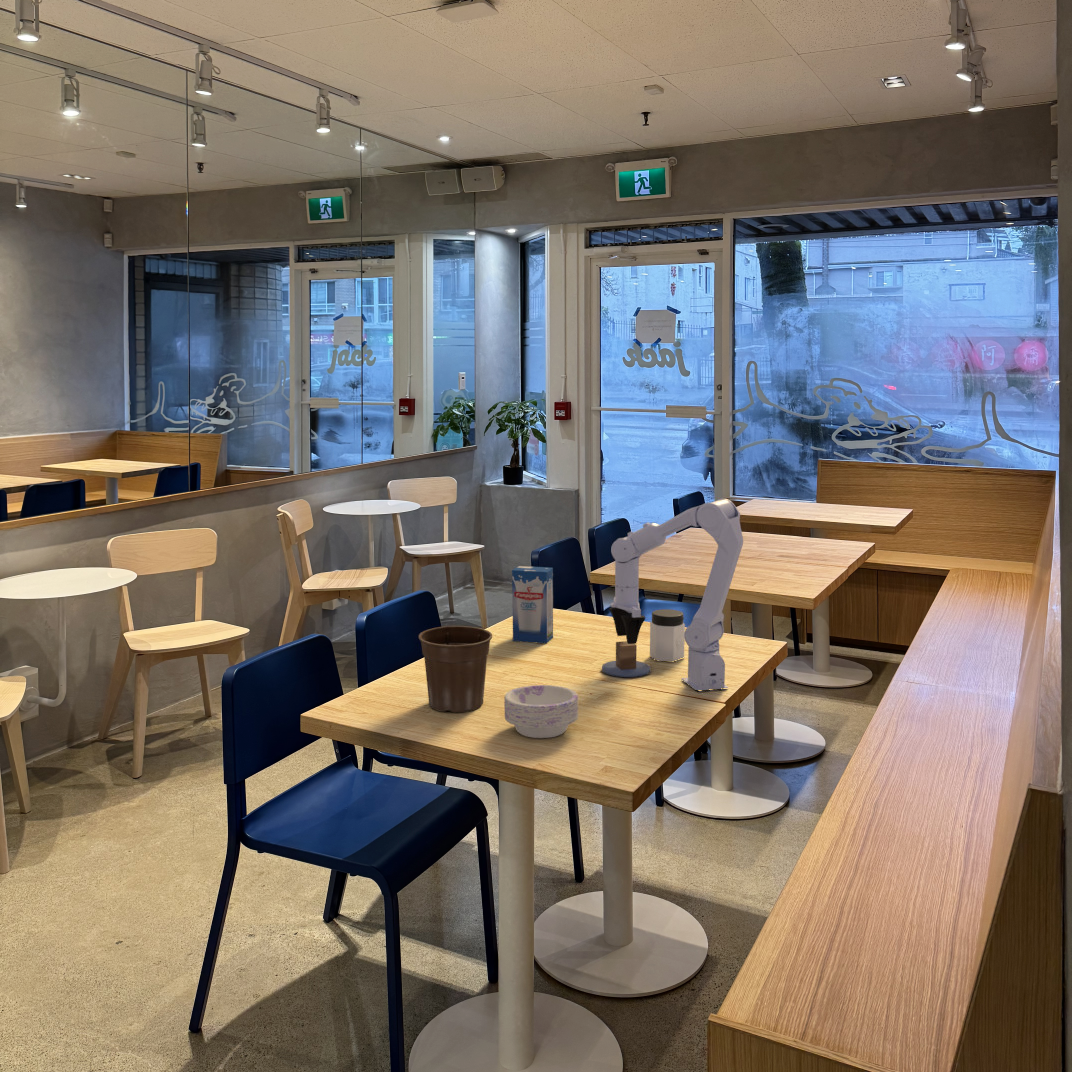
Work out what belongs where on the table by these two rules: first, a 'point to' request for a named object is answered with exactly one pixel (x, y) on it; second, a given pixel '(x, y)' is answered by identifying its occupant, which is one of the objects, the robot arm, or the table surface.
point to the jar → (667, 635)
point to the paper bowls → (541, 710)
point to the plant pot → (455, 666)
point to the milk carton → (532, 604)
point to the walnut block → (626, 655)
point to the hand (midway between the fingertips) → (626, 639)
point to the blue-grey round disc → (613, 670)
